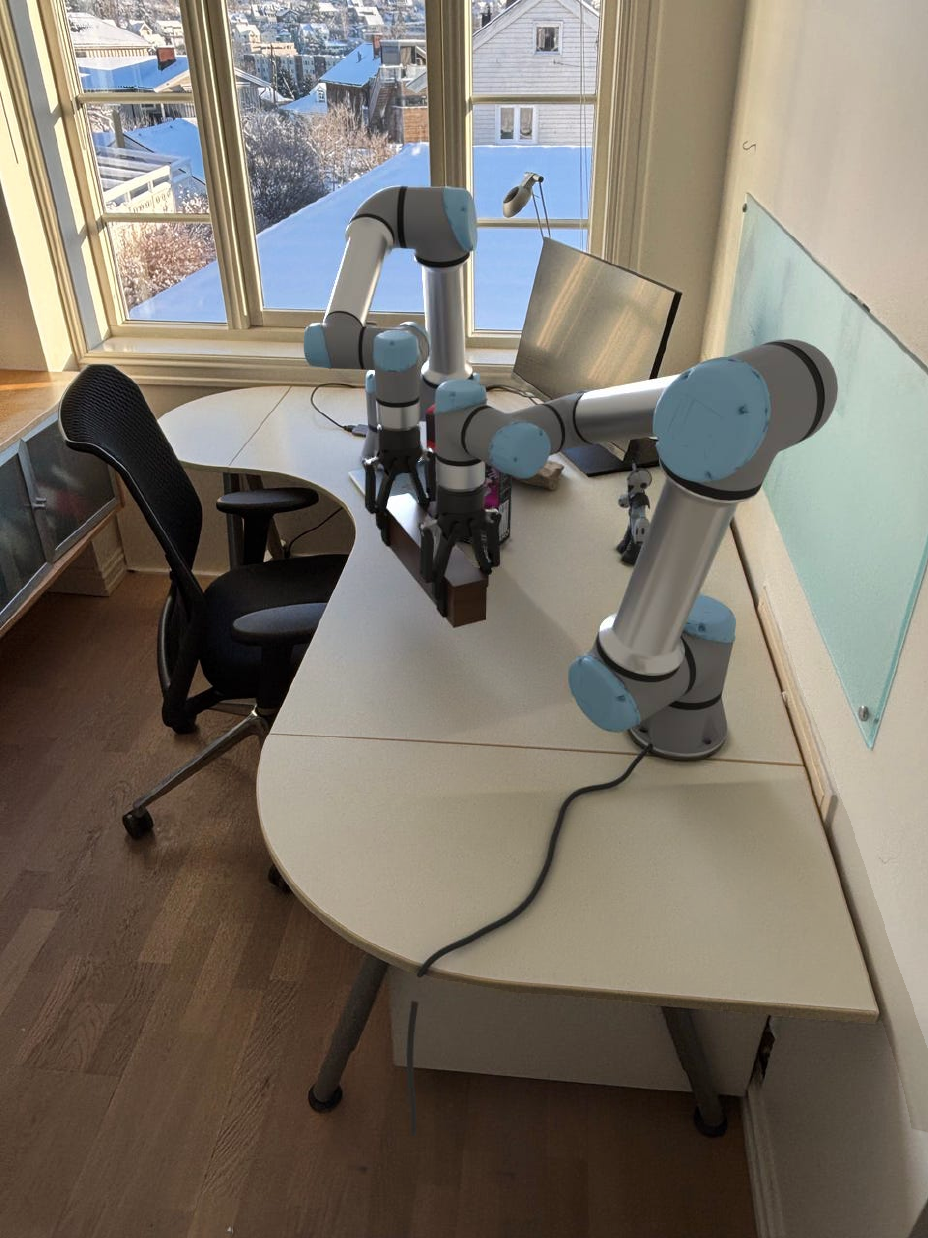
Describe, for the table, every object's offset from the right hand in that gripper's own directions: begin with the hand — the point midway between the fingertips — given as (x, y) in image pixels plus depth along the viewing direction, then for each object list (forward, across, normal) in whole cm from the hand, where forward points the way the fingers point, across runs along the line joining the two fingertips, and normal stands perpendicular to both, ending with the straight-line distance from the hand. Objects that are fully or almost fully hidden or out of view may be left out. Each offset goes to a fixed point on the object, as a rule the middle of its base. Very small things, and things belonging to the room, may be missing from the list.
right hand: (460, 608), depth 154 cm
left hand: (0, 0, -26) cm, 26 cm away
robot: (+9, -46, -17) cm, 50 cm away
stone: (+9, -42, -60) cm, 73 cm away
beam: (+1, 0, -13) cm, 13 cm away
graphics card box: (+9, -19, -38) cm, 43 cm away
